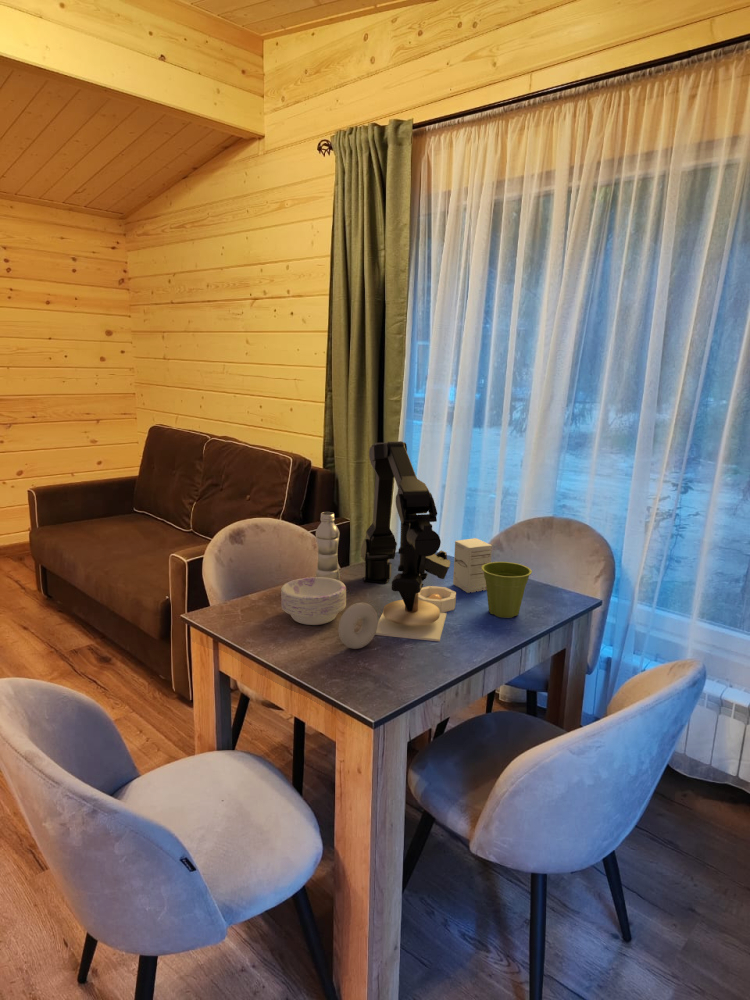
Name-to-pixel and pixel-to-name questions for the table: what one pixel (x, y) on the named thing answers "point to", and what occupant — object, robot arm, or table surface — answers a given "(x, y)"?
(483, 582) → the supplement box
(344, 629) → the donut
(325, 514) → the plastic bottle
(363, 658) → the table surface
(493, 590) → the plant pot
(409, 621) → the lid
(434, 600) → the dish
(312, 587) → the paper bowls
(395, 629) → the mat
